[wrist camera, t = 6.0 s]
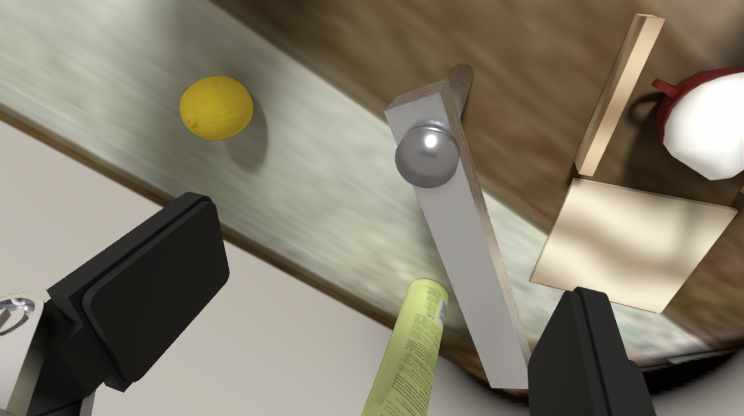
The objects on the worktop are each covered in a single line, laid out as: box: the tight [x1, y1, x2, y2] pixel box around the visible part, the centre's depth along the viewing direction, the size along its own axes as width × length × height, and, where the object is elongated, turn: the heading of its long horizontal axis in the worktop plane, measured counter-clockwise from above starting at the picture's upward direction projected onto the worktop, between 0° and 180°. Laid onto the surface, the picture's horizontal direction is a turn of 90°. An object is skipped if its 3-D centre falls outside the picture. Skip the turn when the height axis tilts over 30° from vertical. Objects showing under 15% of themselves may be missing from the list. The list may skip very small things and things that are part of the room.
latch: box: [384, 64, 531, 389], centre depth 26 cm, size 20×3×17 cm, turn 23°
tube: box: [361, 279, 448, 416], centre depth 36 cm, size 6×5×20 cm
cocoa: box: [651, 68, 744, 180], centre depth 22 cm, size 10×6×12 cm, turn 42°
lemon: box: [180, 76, 253, 140], centre depth 34 cm, size 6×6×8 cm
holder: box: [574, 14, 744, 194], centre depth 25 cm, size 11×13×2 cm
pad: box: [530, 178, 738, 313], centre depth 33 cm, size 12×12×1 cm
